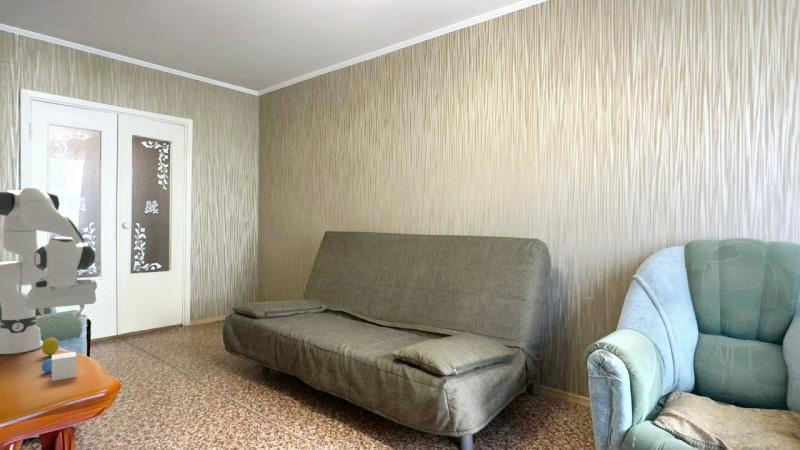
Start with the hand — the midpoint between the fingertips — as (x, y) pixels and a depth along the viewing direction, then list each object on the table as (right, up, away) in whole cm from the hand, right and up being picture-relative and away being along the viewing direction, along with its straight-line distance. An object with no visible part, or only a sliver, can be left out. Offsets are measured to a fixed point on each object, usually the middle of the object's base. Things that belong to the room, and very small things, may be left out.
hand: (62, 318), depth 160 cm
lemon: (-23, -21, +24) cm, 39 cm away
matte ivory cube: (0, -21, 0) cm, 21 cm away
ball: (-8, -19, +4) cm, 21 cm away
